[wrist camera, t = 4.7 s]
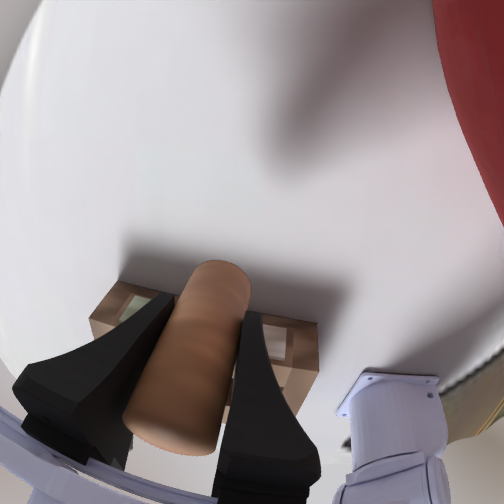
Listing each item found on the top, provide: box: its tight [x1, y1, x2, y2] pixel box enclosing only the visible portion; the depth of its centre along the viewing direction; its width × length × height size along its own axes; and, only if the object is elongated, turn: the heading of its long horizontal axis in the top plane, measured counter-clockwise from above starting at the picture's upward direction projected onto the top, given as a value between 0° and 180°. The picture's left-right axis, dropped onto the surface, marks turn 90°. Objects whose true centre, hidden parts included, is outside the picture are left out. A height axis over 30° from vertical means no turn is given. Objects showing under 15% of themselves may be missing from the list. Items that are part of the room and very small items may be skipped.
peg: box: [122, 260, 251, 456], centre depth 11 cm, size 3×3×8 cm
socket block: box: [89, 281, 319, 424], centre depth 24 cm, size 17×10×5 cm, turn 82°
